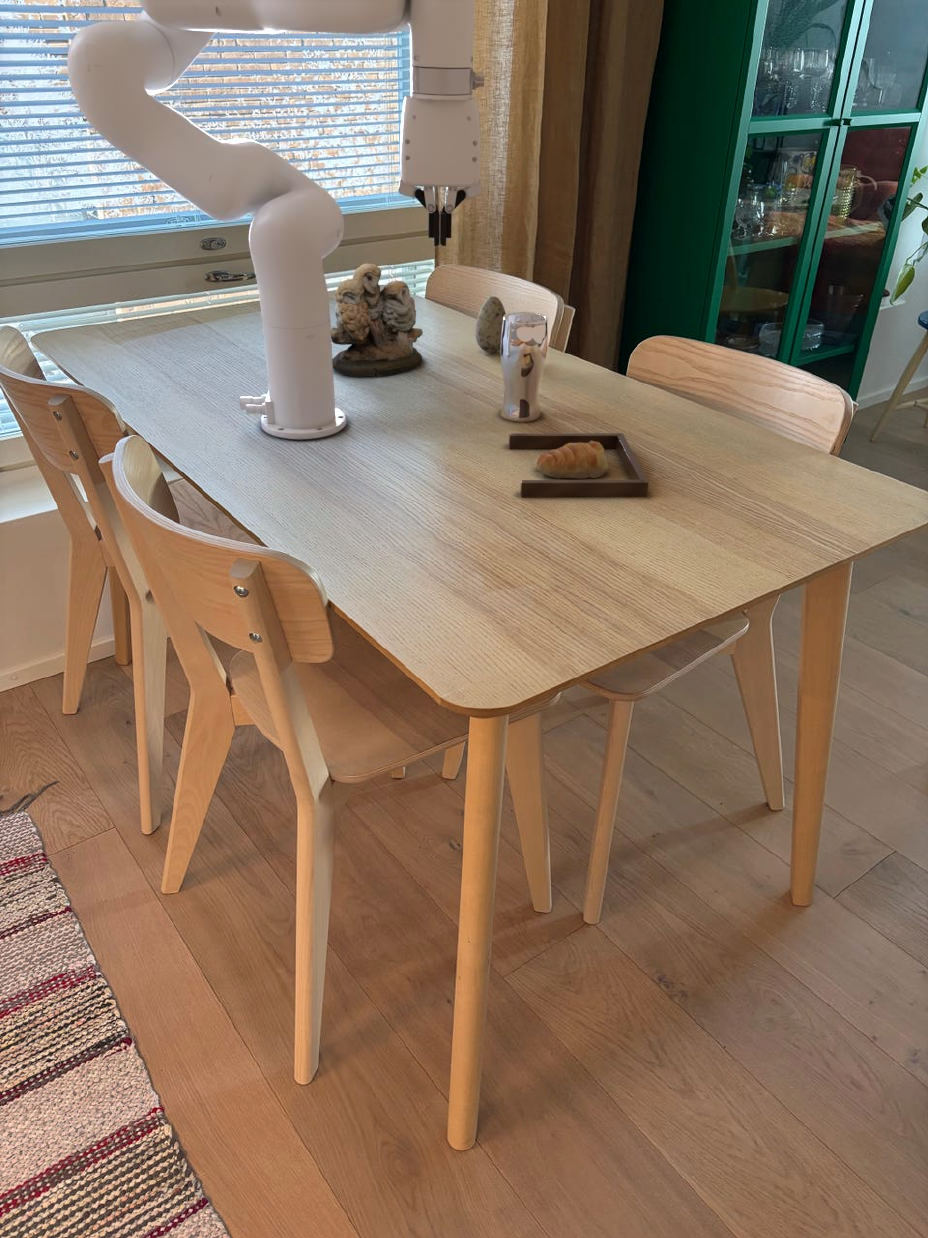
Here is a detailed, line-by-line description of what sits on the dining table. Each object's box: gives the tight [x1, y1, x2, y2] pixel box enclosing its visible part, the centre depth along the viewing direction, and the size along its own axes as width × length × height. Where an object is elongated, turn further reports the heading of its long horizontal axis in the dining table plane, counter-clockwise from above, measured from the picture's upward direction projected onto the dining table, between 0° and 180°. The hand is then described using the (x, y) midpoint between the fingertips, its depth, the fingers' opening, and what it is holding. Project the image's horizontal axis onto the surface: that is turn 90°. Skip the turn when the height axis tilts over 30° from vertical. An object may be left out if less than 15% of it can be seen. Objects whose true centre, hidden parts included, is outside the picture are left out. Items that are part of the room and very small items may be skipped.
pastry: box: [535, 441, 609, 480], centre depth 130 cm, size 9×7×4 cm
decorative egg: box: [474, 295, 507, 354], centre depth 173 cm, size 6×6×10 cm
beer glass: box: [500, 311, 549, 423], centre depth 144 cm, size 7×7×15 cm
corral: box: [508, 432, 649, 498], centre depth 131 cm, size 16×17×2 cm
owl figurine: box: [331, 263, 424, 378], centre depth 163 cm, size 18×12×17 cm, turn 126°
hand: (439, 243), depth 126 cm, fingers closed
